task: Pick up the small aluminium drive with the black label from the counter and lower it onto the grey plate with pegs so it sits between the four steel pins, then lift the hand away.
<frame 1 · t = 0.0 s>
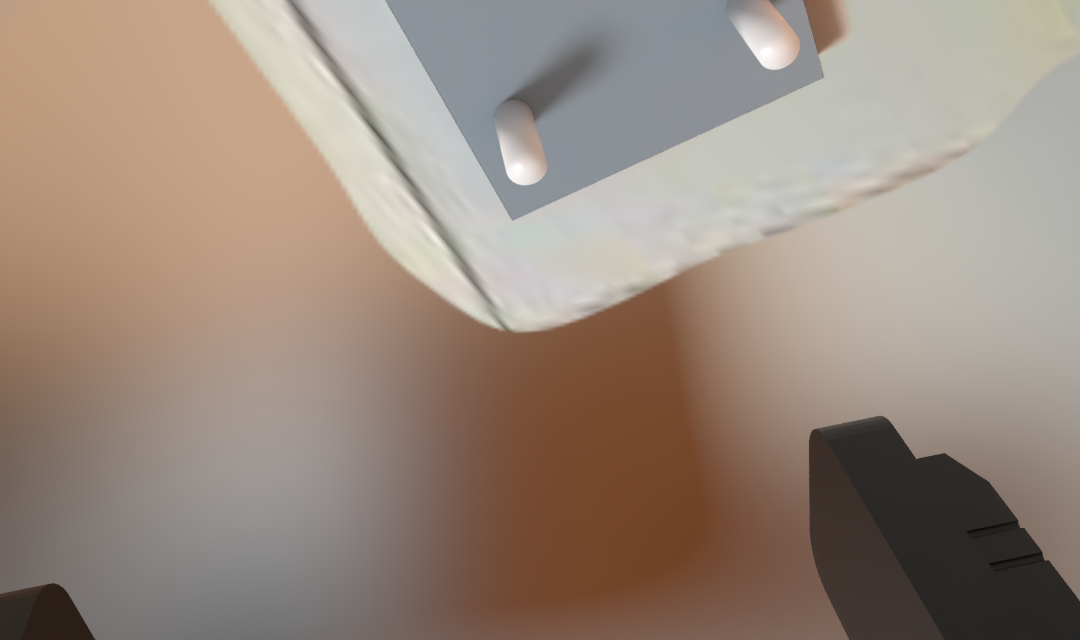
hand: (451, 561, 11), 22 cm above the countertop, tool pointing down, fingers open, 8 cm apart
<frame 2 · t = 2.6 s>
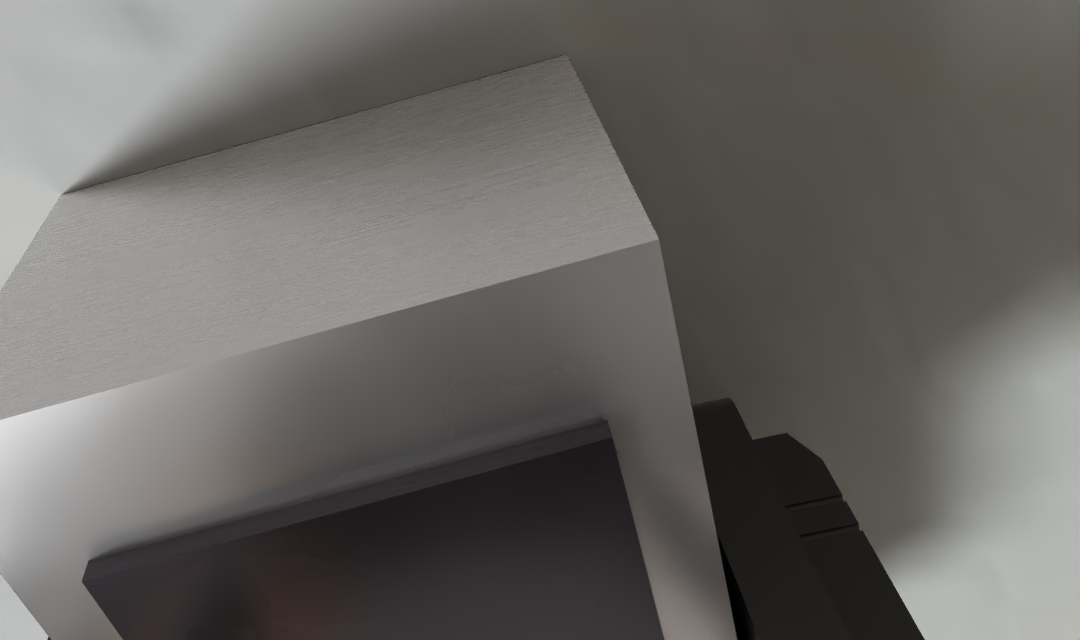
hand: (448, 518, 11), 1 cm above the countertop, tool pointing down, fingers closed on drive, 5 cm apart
drive: (445, 469, 12), on the countertop, touching gripper
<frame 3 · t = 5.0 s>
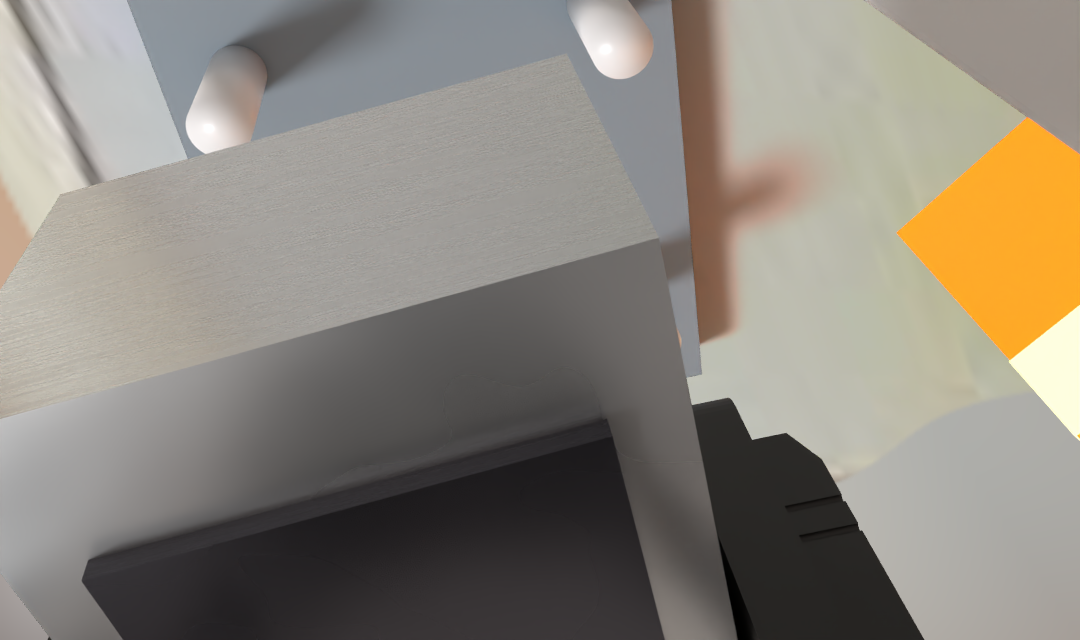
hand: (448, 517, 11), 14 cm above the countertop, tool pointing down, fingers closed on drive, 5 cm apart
grey plate with pegs: (447, 163, 24), on the countertop
drive: (445, 469, 12), point 13 cm above the countertop, touching gripper
when the fingers open (3 cm above the countertop, at t = 7.4 s): drive drops 1 cm, resting on grey plate with pegs.
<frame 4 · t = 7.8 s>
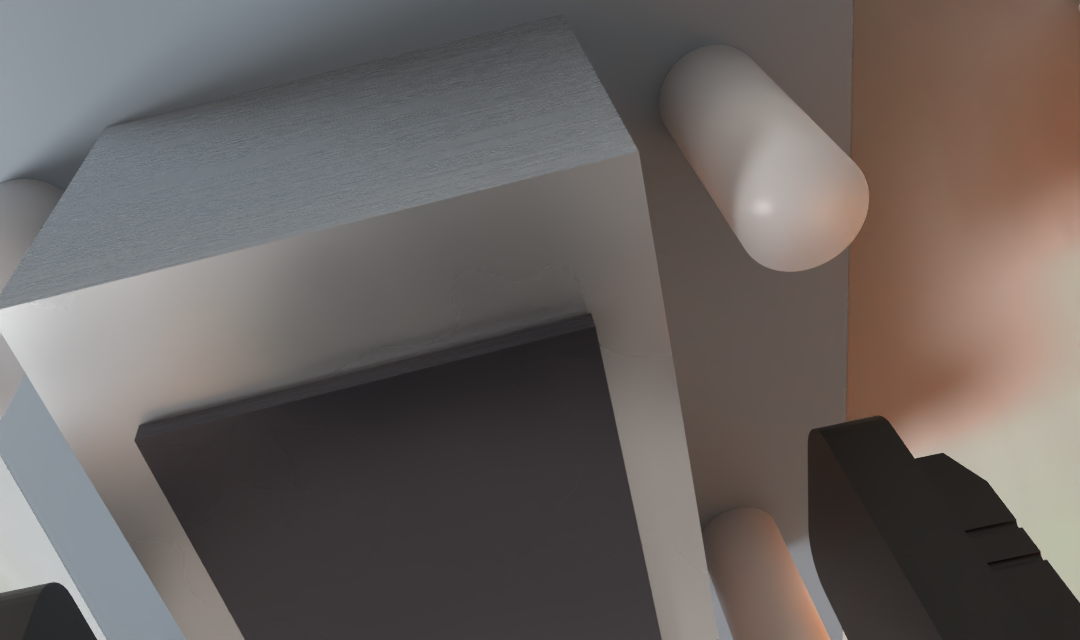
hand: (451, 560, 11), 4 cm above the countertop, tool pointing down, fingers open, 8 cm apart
grey plate with pegs: (435, 355, 14), on the countertop
drive: (441, 398, 13), point 1 cm above the countertop, touching grey plate with pegs
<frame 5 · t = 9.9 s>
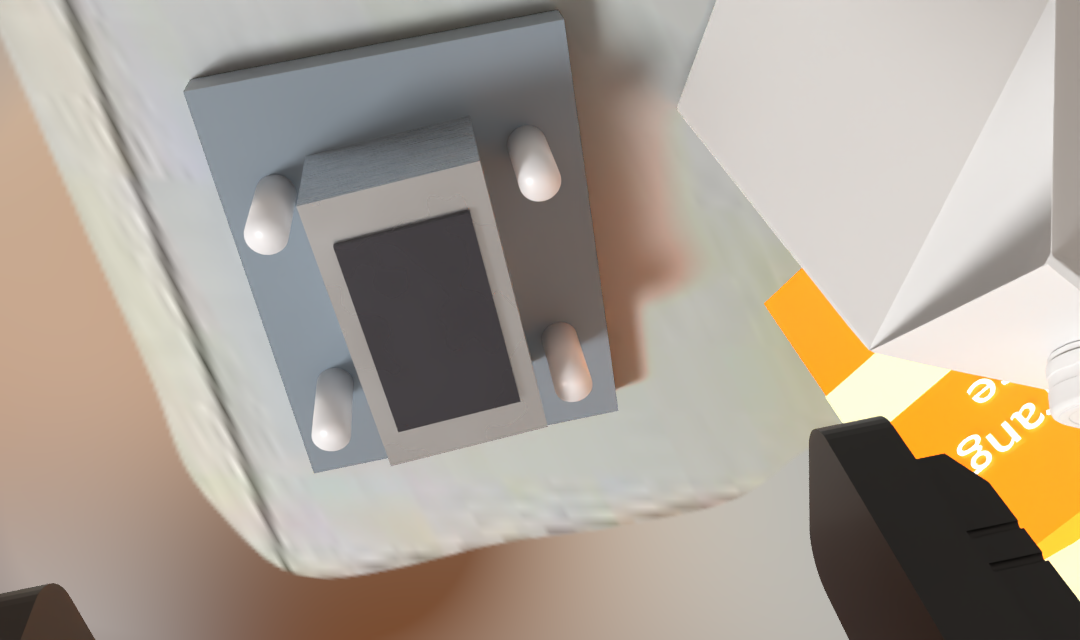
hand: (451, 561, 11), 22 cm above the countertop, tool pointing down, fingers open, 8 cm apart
grey plate with pegs: (424, 253, 33), on the countertop
drive: (427, 266, 32), point 1 cm above the countertop, touching grey plate with pegs
orange juice: (911, 296, 37), on the countertop
milk carton: (814, 26, 32), on the countertop
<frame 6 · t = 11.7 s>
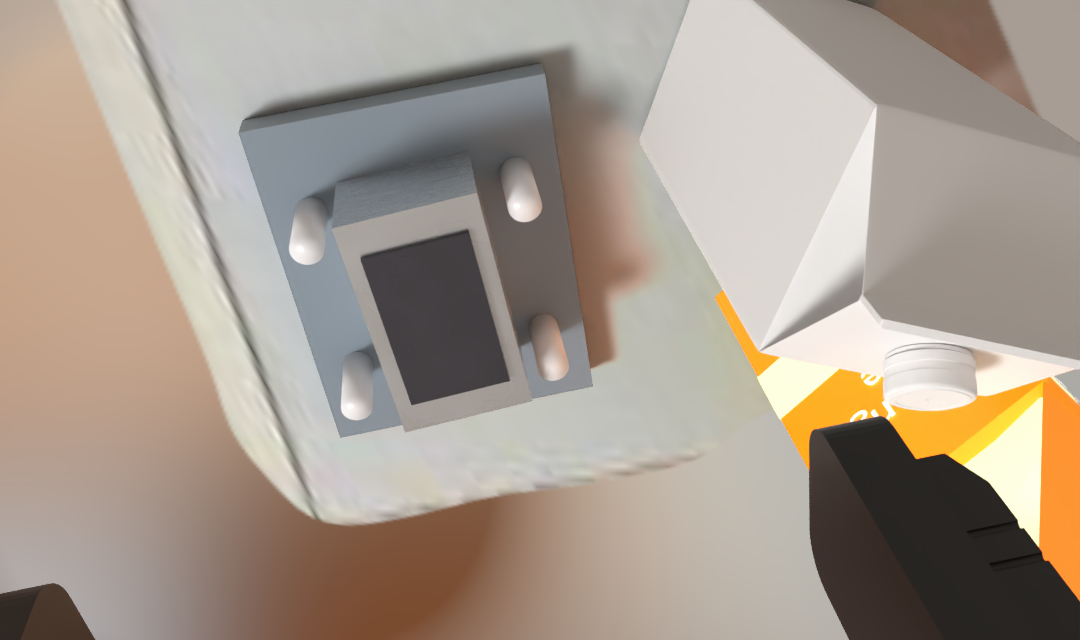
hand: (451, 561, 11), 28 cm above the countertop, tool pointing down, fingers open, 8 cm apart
grey plate with pegs: (432, 257, 41), on the countertop
drive: (434, 269, 40), point 1 cm above the countertop, touching grey plate with pegs
orange juice: (839, 291, 44), on the countertop
milk carton: (752, 73, 39), on the countertop
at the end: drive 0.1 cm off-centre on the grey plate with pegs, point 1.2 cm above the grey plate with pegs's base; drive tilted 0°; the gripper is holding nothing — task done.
